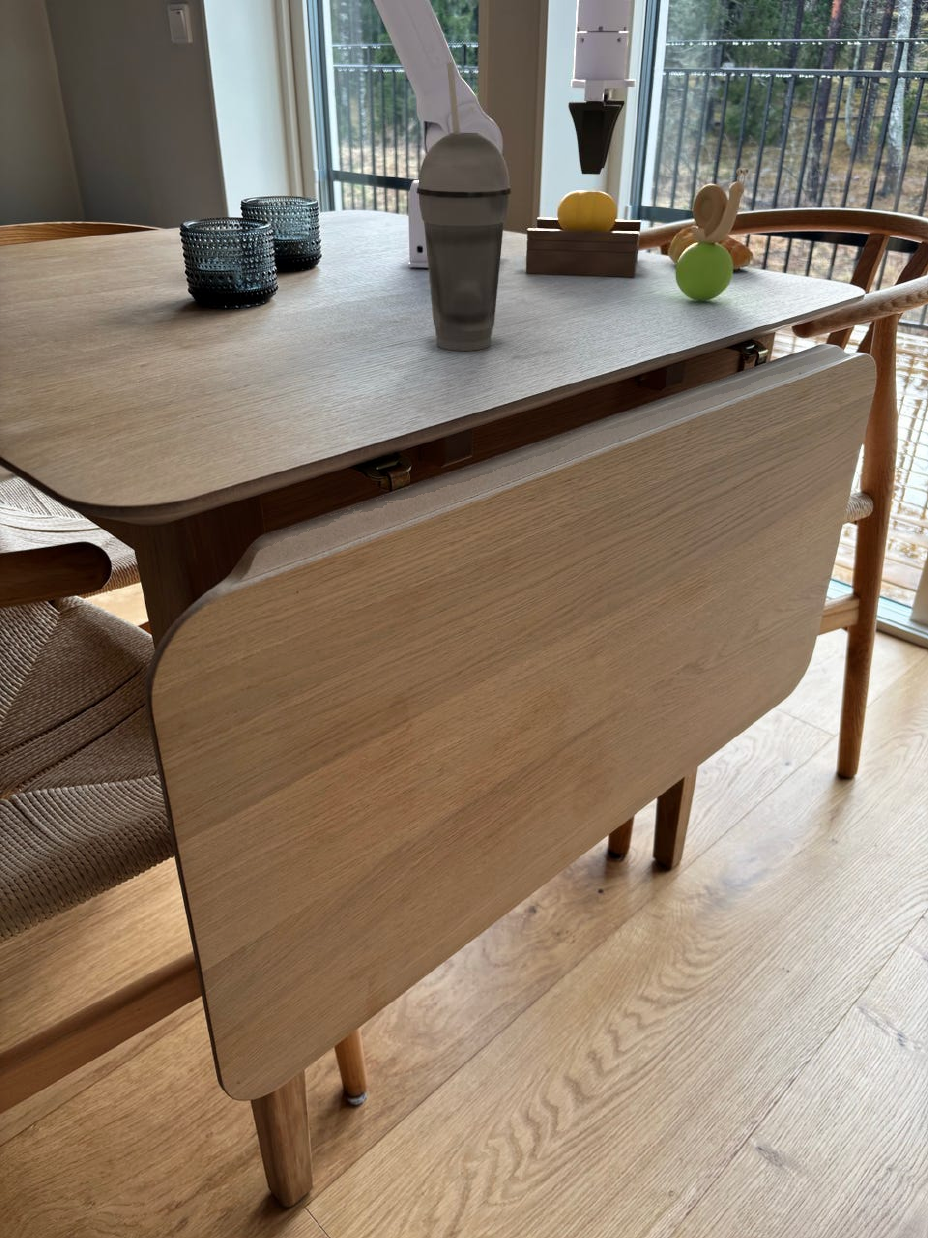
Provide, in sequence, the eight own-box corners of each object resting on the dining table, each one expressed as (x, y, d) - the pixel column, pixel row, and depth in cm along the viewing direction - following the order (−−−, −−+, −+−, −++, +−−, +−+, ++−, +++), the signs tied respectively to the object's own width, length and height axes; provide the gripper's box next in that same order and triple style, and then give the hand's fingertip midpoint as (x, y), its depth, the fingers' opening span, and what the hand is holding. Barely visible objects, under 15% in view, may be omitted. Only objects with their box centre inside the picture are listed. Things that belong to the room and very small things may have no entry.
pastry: (762, 267, 108) (768, 232, 106) (731, 276, 104) (736, 239, 102) (693, 257, 114) (696, 223, 112) (660, 264, 110) (663, 229, 108)
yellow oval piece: (554, 243, 105) (555, 203, 102) (559, 220, 108) (559, 181, 104) (614, 245, 104) (616, 205, 101) (617, 222, 107) (619, 183, 103)
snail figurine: (703, 310, 89) (721, 169, 83) (661, 297, 94) (675, 163, 88) (747, 304, 91) (768, 167, 85) (703, 292, 96) (720, 161, 90)
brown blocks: (525, 273, 105) (527, 229, 103) (536, 257, 113) (537, 217, 111) (634, 277, 103) (638, 233, 101) (637, 261, 111) (641, 220, 109)
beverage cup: (478, 359, 73) (481, 61, 63) (402, 347, 77) (393, 61, 67) (523, 340, 79) (533, 62, 69) (450, 329, 82) (449, 62, 72)
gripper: (637, 30, 96) (625, 177, 102) (641, 34, 108) (630, 166, 115) (568, 30, 97) (560, 176, 104) (579, 34, 109) (572, 164, 116)
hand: (593, 170), depth 109 cm, fingers open, 7 cm apart
